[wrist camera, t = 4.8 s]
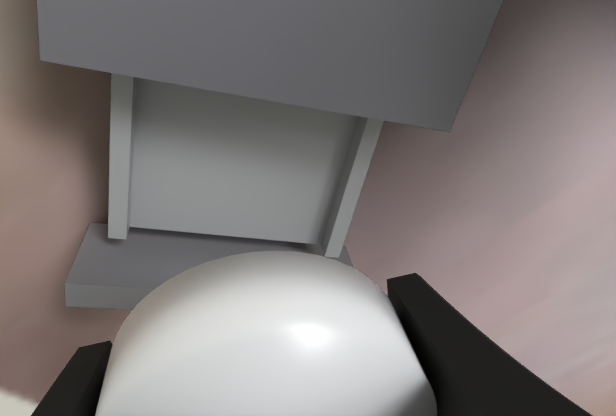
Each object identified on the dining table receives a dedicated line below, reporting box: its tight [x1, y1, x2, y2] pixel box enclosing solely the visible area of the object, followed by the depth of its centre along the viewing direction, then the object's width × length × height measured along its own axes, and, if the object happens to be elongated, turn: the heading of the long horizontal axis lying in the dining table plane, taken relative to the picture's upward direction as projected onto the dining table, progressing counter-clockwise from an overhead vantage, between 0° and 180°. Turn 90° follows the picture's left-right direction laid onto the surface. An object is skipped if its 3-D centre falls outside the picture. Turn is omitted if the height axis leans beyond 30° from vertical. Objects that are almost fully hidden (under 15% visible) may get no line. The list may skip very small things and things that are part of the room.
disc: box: [95, 250, 437, 416], centre depth 8 cm, size 6×6×2 cm
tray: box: [65, 73, 384, 310], centre depth 15 cm, size 11×13×4 cm
